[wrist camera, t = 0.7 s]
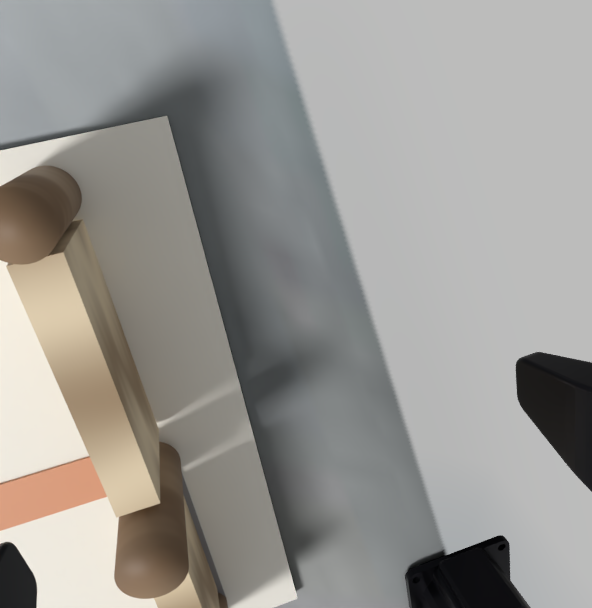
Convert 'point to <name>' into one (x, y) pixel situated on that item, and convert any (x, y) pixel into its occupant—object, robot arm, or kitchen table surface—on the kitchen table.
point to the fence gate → (96, 376)
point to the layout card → (154, 376)
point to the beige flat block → (194, 578)
